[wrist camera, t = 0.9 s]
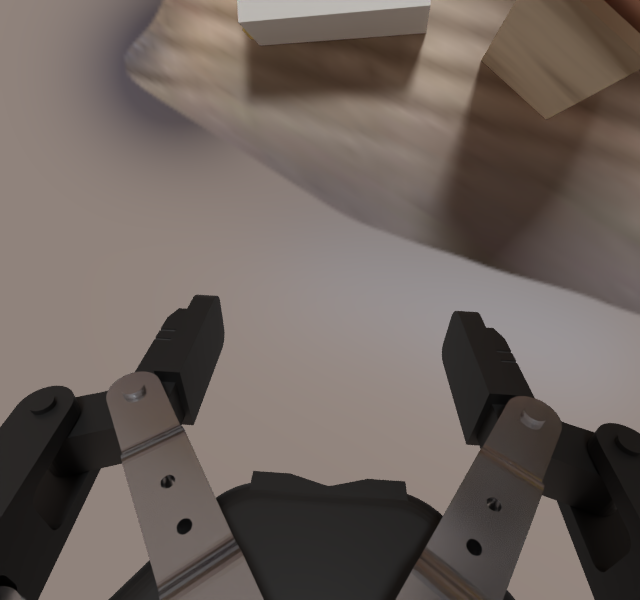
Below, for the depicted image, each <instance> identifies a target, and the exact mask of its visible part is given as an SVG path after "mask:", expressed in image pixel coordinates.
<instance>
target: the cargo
mask: <svg viewBox="0 0 640 600" xmlns="http://www.w3.org/2000/svg"><path fill="white" fill-rule="evenodd" d="M604 1H605V2H606V3H607V4H608V5H610V6H611V7H612V8H613V9H614V10H615V11H616V12H617V13H618V14H619V15H620V16H621V17H623V18H624V19H625V20H626V21H627V22H628V23H629V24H630V25H631V26H632V27H633V28H634V29H636V30H637V31H638V32H639V33H640V0H604Z"/></svg>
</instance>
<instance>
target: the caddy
mask: <svg viewBox="0 0 640 600" xmlns="http://www.w3.org/2000/svg"><path fill="white" fill-rule="evenodd" d="M481 61H482V62H483V63H485V64H486V65H487V66H488V67H489V68H490V69H491V70H492V71H493V72H494V73H496V74H497V75H498V76H499V77H500V78H501V79H502V80H503V81H504V82H505V83H506V84H508V85H509V86H510V87H511V88H512V89H513V90H514V91H515V92H516V93H517V94H519V95H520V96H521V97H522V98H523V99H524V100H525V101H526V102H527V103H528V104H529V105H531V106H532V107H533V108H534V109H535V110H536V111H537V112H538V113H539V114H540V115H541V116H543V117H544V118H545V119H546V120H547V119H549V118H551V117H552V116H554V115H556V114H558V113H560V112H562V111H564V110H565V109H567V108H569V107H571V106H573V105H575V104H577V103H578V102H580V101H582V100H584V99H586V98H588V97H590V96H591V95H593V94H595V93H597V92H599V91H601V90H603V89H604V88H606V87H608V86H610V85H612V84H614V83H616V82H618V81H619V80H621V79H623V78H625V77H627V76H629V75H631V74H632V73H634V72H636V71H638V70H640V33H639V32H638V31H637V30H636V29H634V28H633V27H632V26H631V25H630V24H629V23H628V22H627V21H626V20H625V19H624V18H623V17H621V16H620V15H619V14H618V13H617V12H616V11H615V10H614V9H613V8H612V7H611V6H610V5H608V4H607V3H606V2H605V1H604V0H516V1H515V3H514V5H513V7H512V8H511V10H510V12H509V14H508V15H507V17H506V19H505V20H504V22H503V24H502V26H501V27H500V29H499V31H498V32H497V34H496V36H495V38H494V39H493V41H492V43H491V45H490V46H489V48H488V50H487V51H486V53H485V55H484V57H483V58H482V60H481Z"/></svg>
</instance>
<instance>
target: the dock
mask: <svg viewBox="0 0 640 600" xmlns="http://www.w3.org/2000/svg"><path fill="white" fill-rule="evenodd" d="M430 1H431V0H237V4H238V23H239V24H240V25H241V26H242V27H243V31H244V32H245V33H246V34H247V35H248V37H249V38H250V39H251V40H253V39H254V40H255V41H256V42H257V43H258V44H259V45H260V46H263V45H276V44H289V43H302V42H315V41H328V40H342V39H355V38H368V37H381V36H394V35H407V34H420V33H426V30H427V23H428V17H429V10H430Z"/></svg>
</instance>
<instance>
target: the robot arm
mask: <svg viewBox="0 0 640 600" xmlns="http://www.w3.org/2000/svg"><path fill="white" fill-rule="evenodd" d="M223 343H224V325H223V318H222V312H221V305H220V299H219V297H218V296H209V295H195V296H194V297H193V299H192V301H191V303H190V305H189V306H188V308H187V309H181V308H179V309H178V310H176V311H175V312H174V313H173V314H171V315H170V316H169V317H168V318H167V319H166V321H165V322H164V324H163V326H162V328H161V331H159V333H158V334H157V336H156V339H155V340H154V341H153V343H152V344H151V346H150V348H149V349H148V351H147V353H146V354H145V356H144V358H143V359H142V361H141V363H140V365H139V366H138V368H137V370H136V371H135V372H134V373H131V374H128V375H125V376H123V377H122V378H120V379H118V380H117V381H116V382H114V383H113V384H112V386H111V387H110V389H109V390H108V391H105V392H101V393H96V394H90V395H85V396H80V397H75V396H74V394H73V392H72V391H71V390H70V389H69V388H67V387H63V386H51V387H46V388H43V389H40V390H38V391H35V392H33V393H32V394H30V395H28V396H27V397H26V398H24V399H23V400H22V401H21V402H20V403H19V404H18V405H17V406H16V408H15V409H14V410H13V411H12V413H11V414H10V415H9V417H8V418H7V419H6V421H5V422H4V423H3V424H2V426H1V427H0V600H38V599H39V596H40V594H41V592H42V590H43V588H44V586H45V584H46V582H47V580H48V577H49V576H50V573H51V571H52V569H53V567H54V565H55V563H56V561H57V559H58V557H59V554H60V553H61V550H62V548H63V546H64V544H65V542H66V540H67V538H68V536H69V534H70V532H71V529H72V527H73V525H74V523H75V521H76V519H77V517H78V515H79V512H80V511H81V509H82V506H83V504H84V502H85V500H86V498H87V496H88V494H89V492H90V490H91V487H92V486H93V484H94V481H95V479H96V477H97V475H98V473H99V471H100V469H101V468H104V467H108V466H113V465H117V464H121V463H122V465H123V468H124V472H125V475H126V479H127V482H128V485H129V489H130V492H131V496H132V500H133V503H134V507H135V510H136V514H137V517H138V520H139V524H140V528H141V531H142V534H143V538H144V541H145V545H146V548H147V552H148V556H149V559H150V560H149V561H148V562H147V563H146V564H145V565H144V566H143V567H142V568H141V569H140V570H139V571H138V572H137V573H136V574H135V575H134V576H133V577H132V578H131V579H130V580H129V581H128V582H126V583H125V584H124V585H123V586H122V587H121V588H120V589H119V590H118V591H117V592H116V593H115V594H114V595H113V596H112V597H111V598H110V599H109V600H515V599H514V598H513V596H512V595H511V594H510V593H509V592H508V591H507V587H508V585H509V582H510V579H511V577H512V574H513V571H514V568H515V566H516V563H517V561H518V558H519V555H520V552H521V550H522V547H523V544H524V541H525V539H526V536H527V534H528V530H529V528H530V525H531V523H532V520H533V517H534V515H535V512H536V509H537V507H538V504H539V501H540V499H541V496H542V495H544V496H546V497H549V498H551V499H554V500H557V502H558V505H559V508H560V510H561V512H562V515H563V518H564V520H565V523H566V526H567V529H568V531H569V534H570V536H571V539H572V541H573V544H574V547H575V549H576V552H577V555H578V557H579V560H580V562H581V565H582V568H583V570H584V573H585V576H586V578H587V581H588V583H589V586H590V588H591V591H592V594H593V596H594V599H595V600H640V434H639V433H638V432H636V431H635V430H633V429H631V428H628V427H626V426H623V425H620V424H614V423H608V424H603V425H601V426H600V427H599V428H598V429H597V431H596V432H595V433H594V432H591V431H588V430H585V429H582V428H579V427H576V426H573V425H569V424H567V423H564V422H562V421H561V420H560V418H559V416H558V415H557V413H556V412H555V411H554V410H553V409H552V408H551V407H550V406H548V405H547V404H545V403H544V402H542V401H540V400H537V399H535V398H534V396H533V394H532V392H531V390H530V388H529V386H528V384H527V382H526V380H525V378H524V376H523V374H522V372H521V370H520V368H519V366H518V364H517V363H516V360H515V358H514V356H513V354H512V353H511V350H510V348H509V346H508V344H507V342H506V341H505V339H504V338H503V337H502V336H501V335H500V334H499V333H498V332H497V331H496V330H495V329H494V328H486V327H485V325H484V322H483V320H482V318H481V316H480V314H479V313H478V312H464V311H455V312H454V313H453V314H452V317H451V320H450V323H449V327H448V330H447V333H446V337H445V340H444V343H443V347H442V360H443V364H444V368H445V371H446V374H447V378H448V382H449V385H450V389H451V392H452V396H453V399H454V403H455V406H456V410H457V413H458V416H459V420H460V423H461V427H462V430H463V434H464V437H465V441H466V444H468V445H480V448H481V450H480V451H479V453H478V455H477V457H476V458H475V460H474V462H473V464H472V466H471V467H470V469H469V471H468V473H467V474H466V476H465V479H464V480H463V482H462V483H461V485H460V487H459V489H458V490H457V493H456V494H455V496H454V498H453V500H452V501H451V503H450V505H449V507H448V508H447V510H446V512H445V514H444V515H443V516H442V515H441V514H440V513H439V512H438V511H436V510H435V509H434V508H432V507H431V506H430V505H428V504H427V503H425V502H423V501H421V500H420V499H418V498H415V497H413V496H411V495H408V494H407V492H406V484H405V482H403V481H389V480H374V479H365V480H360V481H355V482H350V483H345V484H339V485H334V486H326V485H323V484H320V483H317V482H314V481H311V480H307V479H305V478H302V477H299V476H296V475H293V474H288V473H274V472H259V471H253V476H252V480H251V483H248V484H244V485H241V486H237V487H235V488H233V489H230V490H228V491H226V492H224V493H223V494H221V495H220V496H218V497H217V498H215V496H214V493H213V491H212V489H211V487H210V485H209V482H208V480H207V478H206V476H205V474H204V471H203V469H202V467H201V465H200V463H199V460H198V458H197V456H196V454H195V452H194V450H193V447H192V445H191V443H190V441H189V439H188V436H187V434H186V432H185V430H184V428H183V427H182V426H181V425H182V424H185V425H194V422H195V420H196V417H197V414H198V412H199V409H200V406H201V403H202V401H203V398H204V396H205V393H206V390H207V388H208V385H209V382H210V380H211V377H212V374H213V372H214V369H215V366H216V363H217V361H218V358H219V355H220V353H221V350H222V347H223Z"/></svg>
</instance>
